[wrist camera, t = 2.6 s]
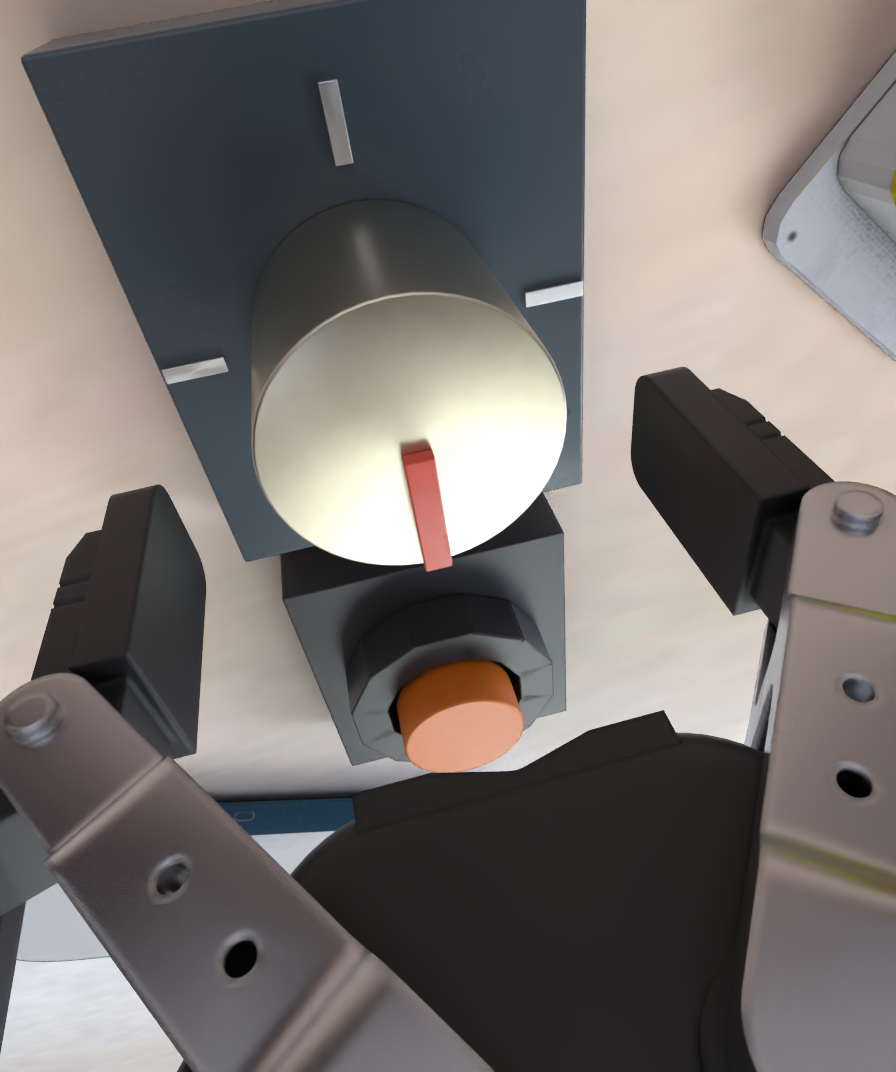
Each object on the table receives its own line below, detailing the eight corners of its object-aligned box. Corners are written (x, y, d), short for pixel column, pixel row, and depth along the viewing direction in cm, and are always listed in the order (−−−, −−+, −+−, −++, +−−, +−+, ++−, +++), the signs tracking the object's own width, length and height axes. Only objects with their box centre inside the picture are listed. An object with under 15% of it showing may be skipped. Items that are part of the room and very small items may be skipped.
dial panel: (48, 39, 13) (14, 58, 11) (544, -47, 14) (592, -44, 12) (245, 509, 21) (245, 567, 20) (555, 438, 22) (585, 487, 20)
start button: (386, 674, 22) (394, 720, 21) (505, 644, 23) (521, 687, 21) (406, 741, 25) (414, 785, 24) (513, 713, 25) (527, 755, 24)
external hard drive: (-2, 926, 34) (-14, 971, 33) (-26, 799, 28) (-42, 847, 26) (444, 887, 42) (452, 921, 41) (509, 782, 36) (521, 818, 34)
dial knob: (214, 228, 14) (199, 344, 10) (484, 174, 14) (573, 265, 10) (291, 455, 18) (302, 604, 14) (503, 407, 18) (573, 539, 14)
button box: (279, 552, 23) (283, 644, 20) (542, 490, 24) (584, 570, 21) (346, 721, 30) (357, 808, 27) (549, 669, 30) (582, 748, 27)
